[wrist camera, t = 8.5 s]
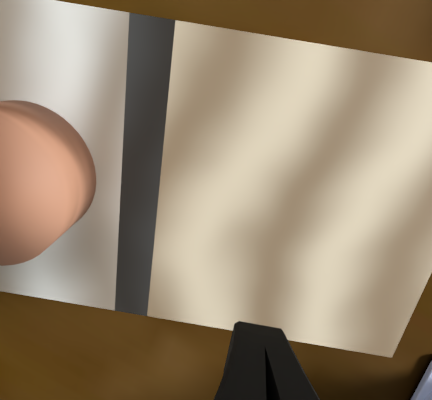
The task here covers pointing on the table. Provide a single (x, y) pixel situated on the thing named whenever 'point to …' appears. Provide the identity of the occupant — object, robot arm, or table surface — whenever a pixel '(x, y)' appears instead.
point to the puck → (39, 179)
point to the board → (231, 174)
